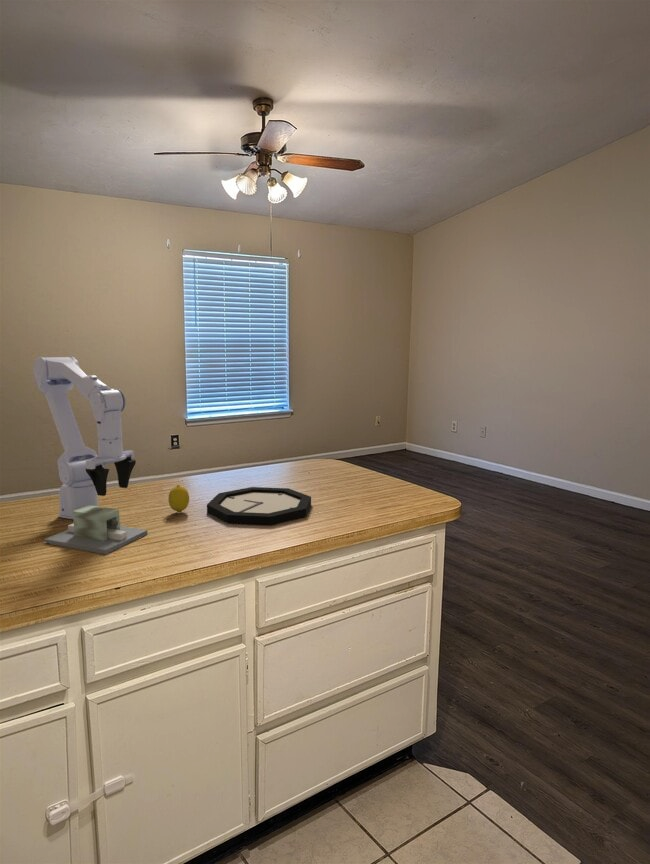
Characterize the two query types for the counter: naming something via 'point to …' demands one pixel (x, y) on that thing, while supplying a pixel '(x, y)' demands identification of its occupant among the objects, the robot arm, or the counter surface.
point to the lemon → (178, 498)
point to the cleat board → (94, 545)
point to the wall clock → (259, 506)
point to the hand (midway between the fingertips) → (112, 491)
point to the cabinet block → (95, 521)
